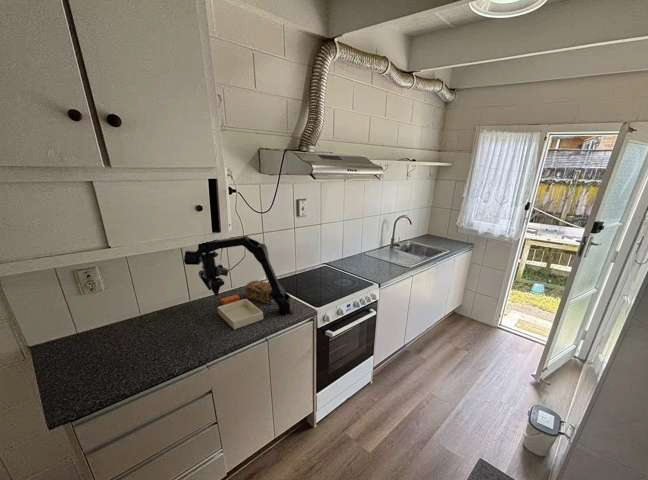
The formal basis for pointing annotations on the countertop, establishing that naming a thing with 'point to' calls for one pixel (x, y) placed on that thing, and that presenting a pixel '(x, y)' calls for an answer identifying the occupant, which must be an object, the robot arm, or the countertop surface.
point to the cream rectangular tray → (240, 313)
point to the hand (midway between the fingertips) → (213, 292)
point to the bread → (259, 291)
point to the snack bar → (230, 299)
